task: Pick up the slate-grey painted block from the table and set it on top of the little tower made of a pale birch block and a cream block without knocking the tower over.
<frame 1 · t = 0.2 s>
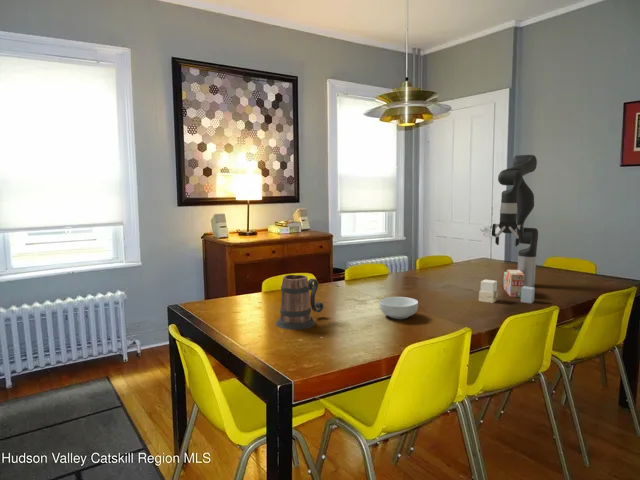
hand: (506, 245, 221), 28 cm above the table, tool pointing down, fingers open, 8 cm apart
cereal bowl: (398, 317, 200), on the table
slate block: (527, 301, 225), on the table
tower base: (488, 300, 227), on the table, touching tower middle
printed cardboard box: (512, 293, 244), on the table
tower middle: (488, 291, 226), point 5 cm above the table, touching tower base
tankard: (301, 322, 194), on the table
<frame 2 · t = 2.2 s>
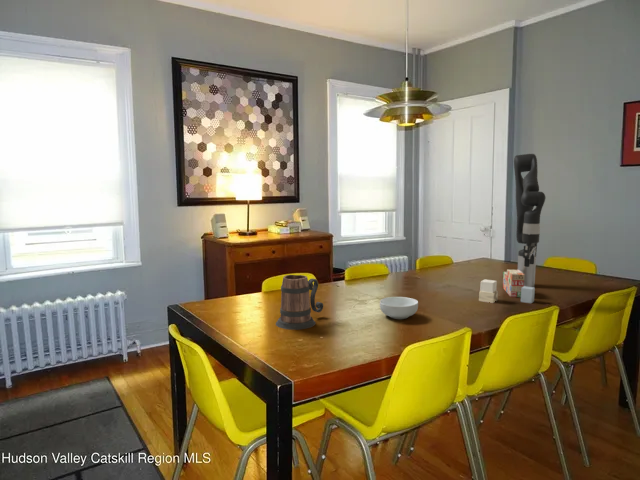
hand: (529, 265, 223), 18 cm above the table, tool pointing down, fingers open, 8 cm apart
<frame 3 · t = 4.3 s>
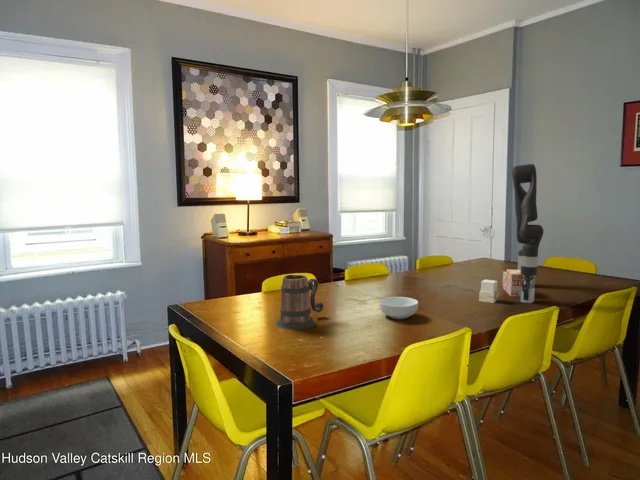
hand: (527, 298, 225), 1 cm above the table, tool pointing down, fingers closed on slate block, 5 cm apart
slate block: (527, 301, 225), on the table, touching gripper
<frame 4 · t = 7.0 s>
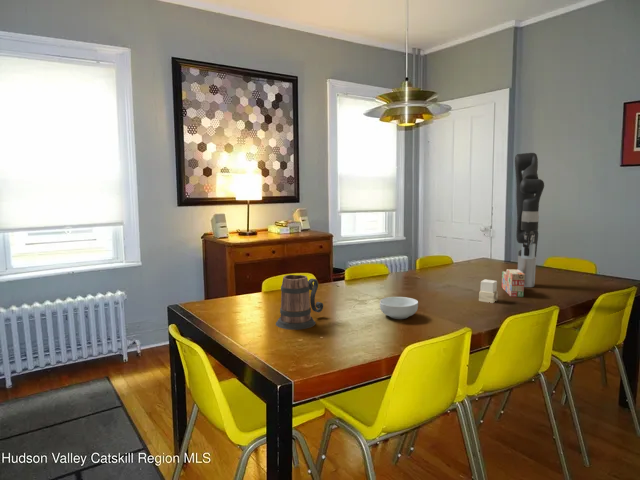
hand: (528, 254, 222), 23 cm above the table, tool pointing down, fingers closed on slate block, 5 cm apart
slate block: (527, 257, 222), point 22 cm above the table, touching gripper
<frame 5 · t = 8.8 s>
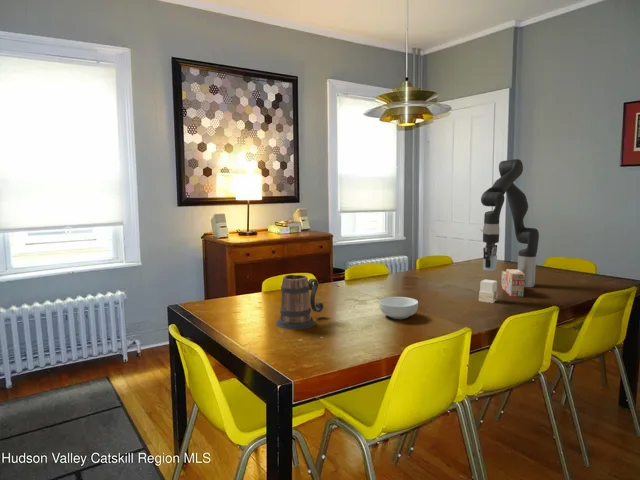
hand: (489, 266, 225), 17 cm above the table, tool pointing down, fingers closed on slate block, 5 cm apart
slate block: (489, 269, 225), point 16 cm above the table, touching gripper
tower base: (488, 300, 227), on the table
tower middle: (488, 290, 226), point 5 cm above the table
when the fingers open (13 cm above the table, at t = 10.1 s): slate block drops 1 cm, resting on tower middle.
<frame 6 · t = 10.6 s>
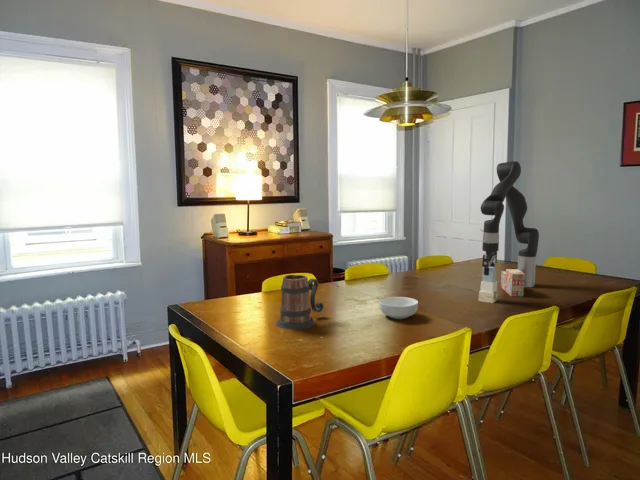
hand: (489, 273, 225), 14 cm above the table, tool pointing down, fingers open, 8 cm apart
slate block: (488, 281, 226), point 10 cm above the table, touching tower middle
tower base: (487, 300, 227), on the table, touching tower middle
tower middle: (488, 290, 227), point 5 cm above the table, touching slate block, tower base
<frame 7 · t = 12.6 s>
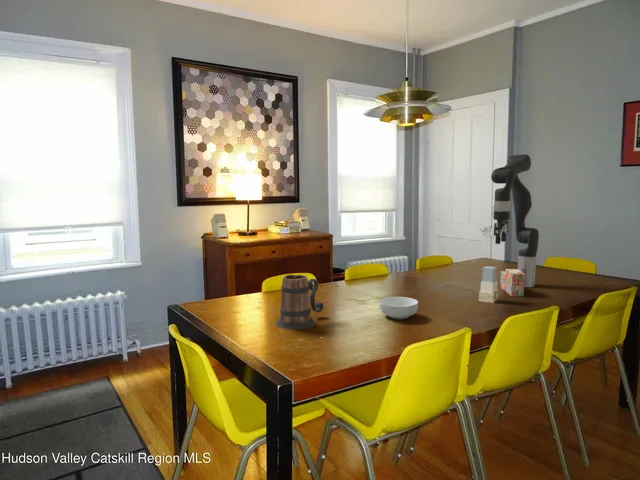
hand: (500, 242, 224), 29 cm above the table, tool pointing down, fingers open, 8 cm apart
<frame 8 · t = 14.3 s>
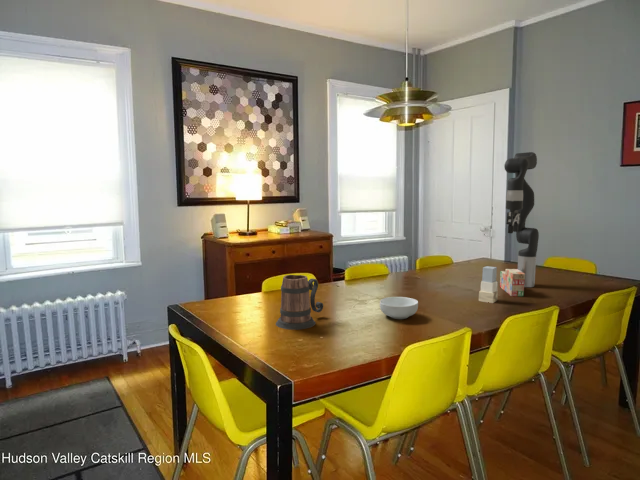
hand: (512, 232, 224), 34 cm above the table, tool pointing down, fingers open, 8 cm apart
at the end: slate block 0.1 cm off-centre on the tower middle, point 5.0 cm above the tower middle's base; tower middle 0.3 cm off-centre on the tower base, point 5.0 cm above the tower base's base; slate block tilted 0° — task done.
